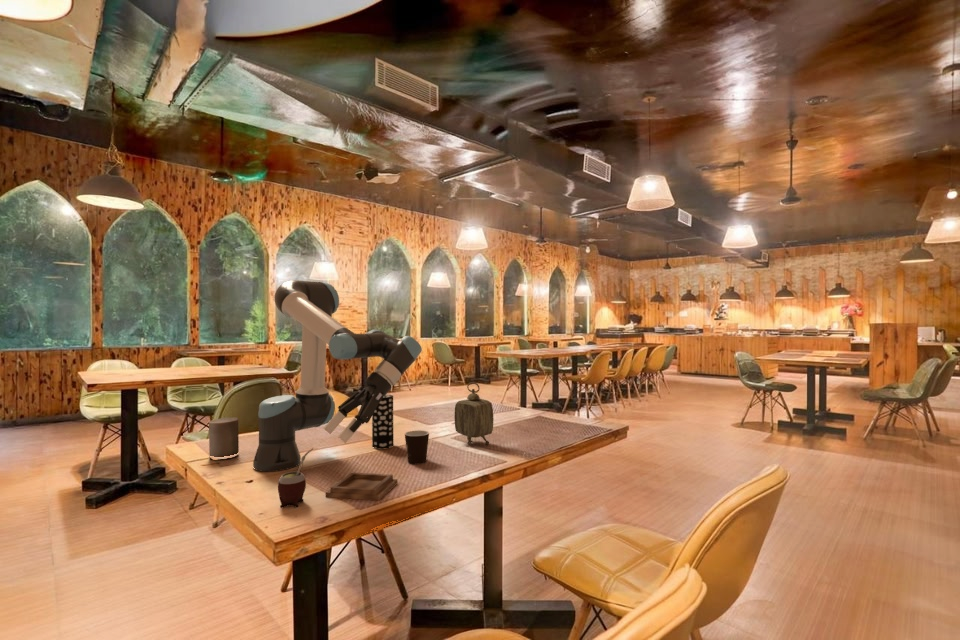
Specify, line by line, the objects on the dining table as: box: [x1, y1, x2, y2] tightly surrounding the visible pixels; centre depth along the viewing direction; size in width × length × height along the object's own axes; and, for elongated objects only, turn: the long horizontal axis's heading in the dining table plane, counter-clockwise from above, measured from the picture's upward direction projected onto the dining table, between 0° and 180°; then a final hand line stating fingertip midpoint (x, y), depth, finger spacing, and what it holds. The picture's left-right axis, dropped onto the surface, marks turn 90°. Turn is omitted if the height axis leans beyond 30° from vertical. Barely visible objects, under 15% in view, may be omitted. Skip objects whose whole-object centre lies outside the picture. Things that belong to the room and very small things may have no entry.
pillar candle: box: [208, 416, 240, 457], centre depth 171 cm, size 10×10×15 cm
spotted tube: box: [371, 394, 394, 449], centre depth 184 cm, size 8×8×20 cm
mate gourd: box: [277, 447, 314, 509], centre depth 125 cm, size 8×8×15 cm
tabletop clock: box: [454, 381, 495, 446], centre depth 186 cm, size 14×9×25 cm, turn 45°
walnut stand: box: [325, 472, 398, 501], centre depth 135 cm, size 16×14×3 cm
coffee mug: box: [404, 429, 430, 465], centre depth 164 cm, size 12×9×10 cm
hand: (333, 435), depth 131 cm, fingers open, 13 cm apart
